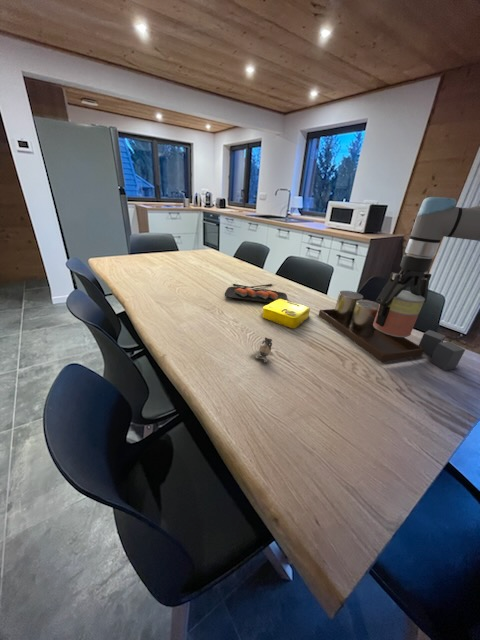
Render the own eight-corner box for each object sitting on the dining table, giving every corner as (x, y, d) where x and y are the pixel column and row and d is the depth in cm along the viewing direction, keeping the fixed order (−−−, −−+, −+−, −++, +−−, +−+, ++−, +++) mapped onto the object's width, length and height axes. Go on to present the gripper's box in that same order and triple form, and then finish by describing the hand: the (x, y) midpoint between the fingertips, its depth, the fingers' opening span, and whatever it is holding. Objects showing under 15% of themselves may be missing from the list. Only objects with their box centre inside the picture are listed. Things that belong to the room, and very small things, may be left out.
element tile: (309, 317, 109) (312, 306, 107) (294, 329, 98) (296, 318, 96) (278, 307, 117) (279, 296, 115) (260, 317, 106) (261, 306, 104)
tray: (420, 357, 87) (424, 349, 86) (380, 364, 82) (383, 355, 80) (351, 314, 116) (353, 307, 114) (318, 316, 110) (319, 309, 109)
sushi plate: (222, 299, 120) (223, 291, 118) (233, 280, 146) (233, 274, 145) (287, 307, 117) (288, 299, 115) (285, 286, 144) (286, 280, 142)
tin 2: (379, 335, 97) (389, 308, 92) (359, 338, 94) (368, 310, 90) (362, 324, 105) (370, 299, 100) (343, 326, 102) (351, 300, 97)
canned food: (416, 331, 86) (431, 297, 81) (401, 340, 80) (416, 304, 75) (382, 318, 94) (394, 286, 89) (366, 325, 88) (377, 291, 82)
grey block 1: (437, 353, 90) (446, 335, 87) (432, 358, 87) (441, 339, 84) (421, 347, 94) (429, 329, 91) (416, 351, 91) (423, 333, 88)
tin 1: (360, 323, 106) (368, 298, 101) (342, 325, 103) (349, 299, 98) (345, 314, 113) (352, 290, 109) (328, 315, 110) (334, 290, 106)
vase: (262, 350, 84) (264, 333, 81) (276, 357, 81) (279, 340, 78) (251, 356, 80) (253, 339, 77) (266, 364, 77) (269, 346, 74)
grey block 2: (455, 368, 83) (465, 349, 80) (444, 370, 81) (454, 351, 78) (440, 359, 87) (449, 341, 84) (429, 361, 85) (438, 342, 82)
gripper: (435, 253, 83) (410, 315, 93) (377, 252, 76) (356, 320, 85) (459, 259, 77) (429, 325, 87) (398, 258, 70) (373, 331, 79)
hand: (393, 323), depth 86 cm, fingers closed on canned food, 11 cm apart
